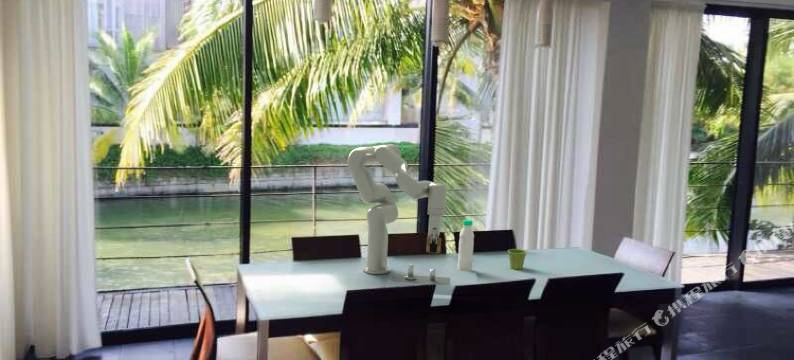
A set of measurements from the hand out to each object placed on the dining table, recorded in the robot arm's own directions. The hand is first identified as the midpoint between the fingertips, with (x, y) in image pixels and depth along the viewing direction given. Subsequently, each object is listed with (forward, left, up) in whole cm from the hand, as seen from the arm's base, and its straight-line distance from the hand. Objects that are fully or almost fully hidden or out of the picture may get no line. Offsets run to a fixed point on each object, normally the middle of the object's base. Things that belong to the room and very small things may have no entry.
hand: (433, 249), depth 299 cm
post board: (0, -5, -15) cm, 16 cm away
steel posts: (0, -5, -14) cm, 15 cm away
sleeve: (0, 0, -1) cm, 1 cm away
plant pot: (-37, +41, -16) cm, 57 cm away
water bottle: (-26, +15, -16) cm, 34 cm away
